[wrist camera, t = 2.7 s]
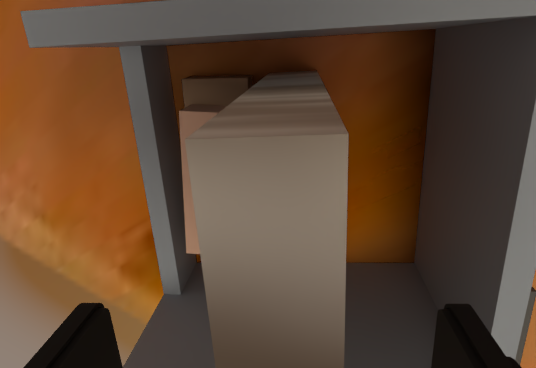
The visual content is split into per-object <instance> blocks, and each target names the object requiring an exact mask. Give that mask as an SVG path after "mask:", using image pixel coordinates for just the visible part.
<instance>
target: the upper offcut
mask: <svg viewBox="0 0 536 368" xmlns="http://www.w3.org/2000/svg"><path fill="white" fill-rule="evenodd" d="M225 107H227V106H218V105H197V104H191V105H189V106H187V107H186V108H184V109H182V110H180V111H179V121H180V140H181V159H182V179H183V198H184V217H185V236H186V253H190V254H200V249H199V241H198V234H197V227H196V219H195V212H194V204H193V197H192V190H191V182H190V175H189V168H188V160H187V153H186V146H185V139H186V138H187V137H189V136H190V135H191V134H192V133H194V132H195V131H196V130H197V129H199V128H200V127H201V126H203V125H204V124H205V123H206V122H208V121H209V120H210V119H211V118H213V117H214V116H215V115H217V114H218V113H219V112H220V111H222V110H223V109H224V108H225Z"/></svg>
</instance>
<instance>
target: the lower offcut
mask: <svg viewBox="0 0 536 368" xmlns="http://www.w3.org/2000/svg"><path fill="white" fill-rule="evenodd" d="M252 86H253V84H252V75H233V76H191V77H187V78H184V79H182V88H183V98H184V107H185V108H186V107H187V106H189V105H191V104H197V105H218V106H228V105H229V104H230V103H232V102H233V101H234V100H236V99H237V98H238V97H239V96H241V95H242V94H243V93H244V92H246V91H247V90H248V89H250V88H251V87H252Z"/></svg>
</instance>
